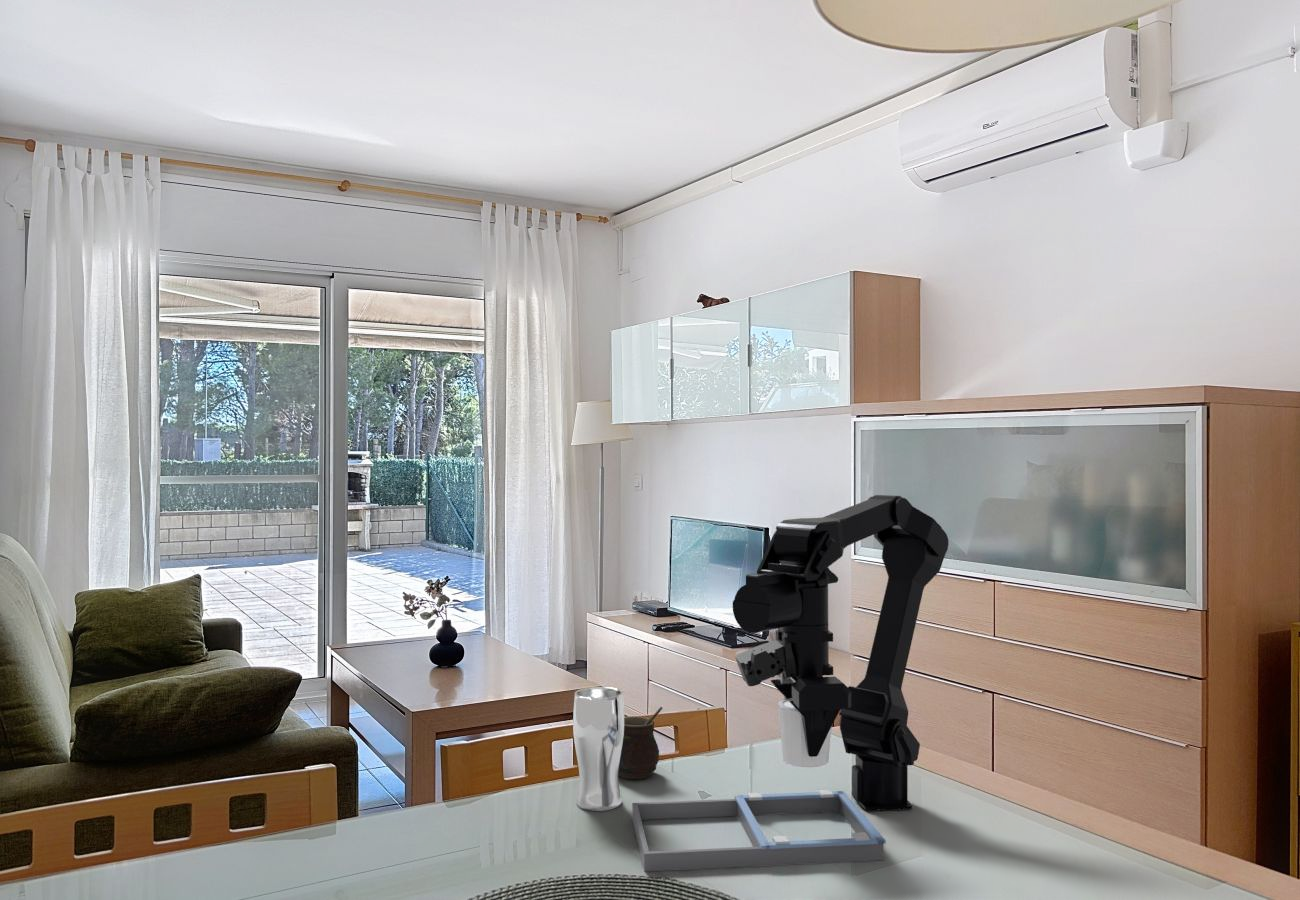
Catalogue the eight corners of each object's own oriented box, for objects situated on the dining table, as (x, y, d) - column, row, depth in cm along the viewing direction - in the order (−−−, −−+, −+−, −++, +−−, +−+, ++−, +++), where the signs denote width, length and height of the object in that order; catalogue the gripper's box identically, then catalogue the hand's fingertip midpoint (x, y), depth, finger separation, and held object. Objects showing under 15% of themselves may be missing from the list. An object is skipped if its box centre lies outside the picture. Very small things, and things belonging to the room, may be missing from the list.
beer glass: (627, 794, 136) (627, 686, 136) (621, 813, 129) (621, 699, 129) (578, 793, 137) (577, 685, 137) (569, 811, 130) (568, 698, 130)
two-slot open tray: (843, 809, 130) (843, 788, 130) (885, 860, 114) (885, 837, 114) (632, 817, 128) (632, 797, 128) (644, 872, 111) (644, 848, 111)
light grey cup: (837, 754, 124) (837, 698, 124) (829, 771, 117) (828, 712, 117) (783, 749, 126) (783, 694, 126) (772, 765, 119) (772, 708, 119)
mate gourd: (605, 769, 147) (606, 702, 147) (654, 765, 149) (655, 699, 149) (615, 784, 140) (616, 714, 140) (666, 781, 142) (667, 712, 142)
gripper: (727, 610, 130) (727, 728, 130) (756, 638, 111) (757, 776, 111) (809, 608, 131) (810, 725, 131) (852, 636, 112) (853, 771, 113)
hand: (805, 747), depth 122 cm, fingers closed on light grey cup, 6 cm apart
